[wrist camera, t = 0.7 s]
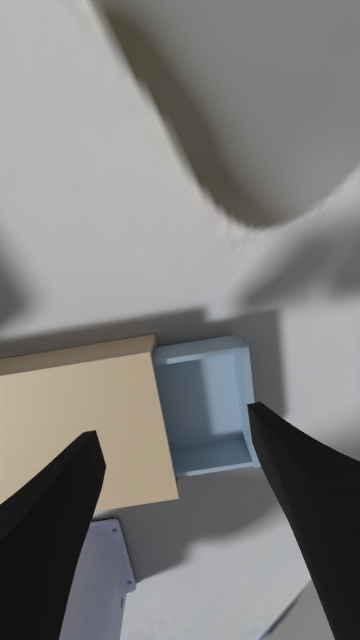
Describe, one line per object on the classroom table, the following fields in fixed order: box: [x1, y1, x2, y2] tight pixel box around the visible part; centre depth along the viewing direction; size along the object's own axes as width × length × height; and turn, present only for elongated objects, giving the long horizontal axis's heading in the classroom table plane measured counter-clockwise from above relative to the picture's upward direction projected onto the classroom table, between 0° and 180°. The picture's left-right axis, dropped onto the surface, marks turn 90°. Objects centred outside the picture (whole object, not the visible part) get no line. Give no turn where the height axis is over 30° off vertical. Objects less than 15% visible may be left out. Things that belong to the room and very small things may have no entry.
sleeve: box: [0, 334, 179, 512], centre depth 19 cm, size 12×18×4 cm, turn 99°
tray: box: [151, 334, 261, 478], centre depth 19 cm, size 10×17×3 cm, turn 99°
